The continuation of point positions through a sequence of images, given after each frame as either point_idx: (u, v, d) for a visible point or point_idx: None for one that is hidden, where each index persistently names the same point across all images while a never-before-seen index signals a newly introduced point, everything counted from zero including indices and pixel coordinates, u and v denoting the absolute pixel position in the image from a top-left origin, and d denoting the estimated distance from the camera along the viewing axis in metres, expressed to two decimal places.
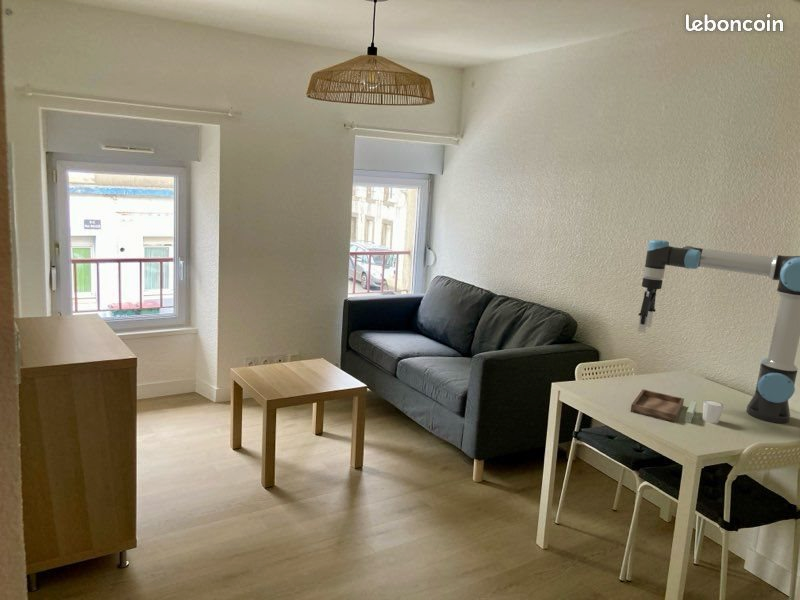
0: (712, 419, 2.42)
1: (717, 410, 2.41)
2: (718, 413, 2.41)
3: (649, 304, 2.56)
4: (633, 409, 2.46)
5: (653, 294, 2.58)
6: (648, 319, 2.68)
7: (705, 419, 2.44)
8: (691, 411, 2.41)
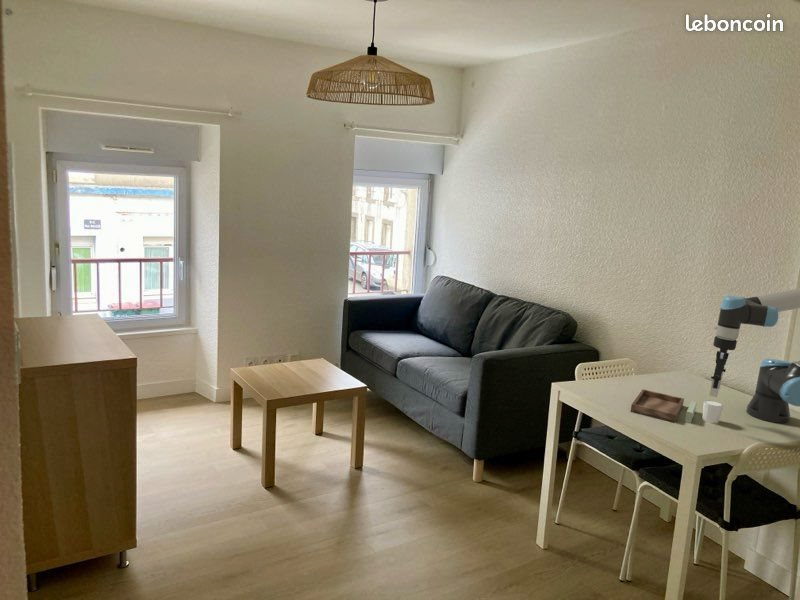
0: (712, 419, 2.42)
1: (717, 410, 2.41)
2: (718, 413, 2.41)
3: (722, 366, 2.36)
4: (633, 409, 2.46)
5: (726, 355, 2.38)
6: None
7: (705, 419, 2.44)
8: (691, 411, 2.41)
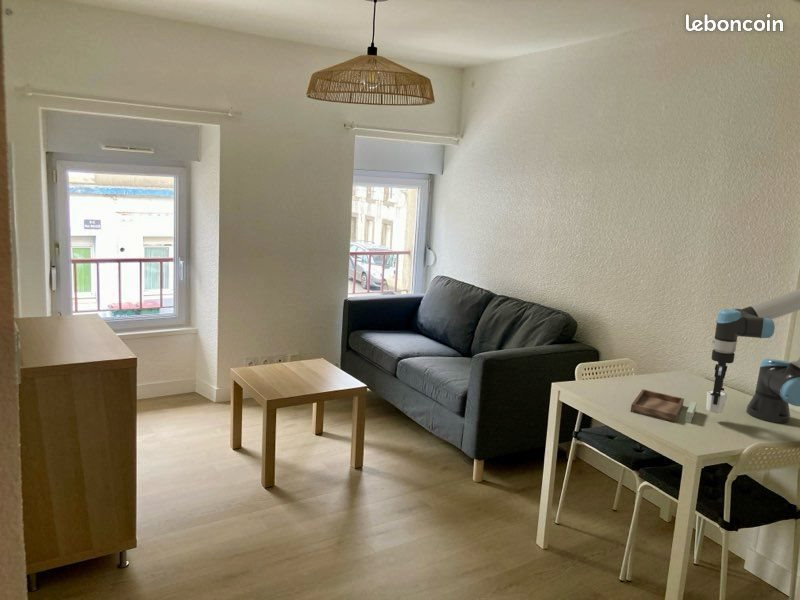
0: None
1: (721, 399, 2.40)
2: (722, 402, 2.41)
3: None
4: (633, 409, 2.46)
5: (725, 369, 2.39)
6: None
7: (709, 409, 2.43)
8: (691, 411, 2.41)
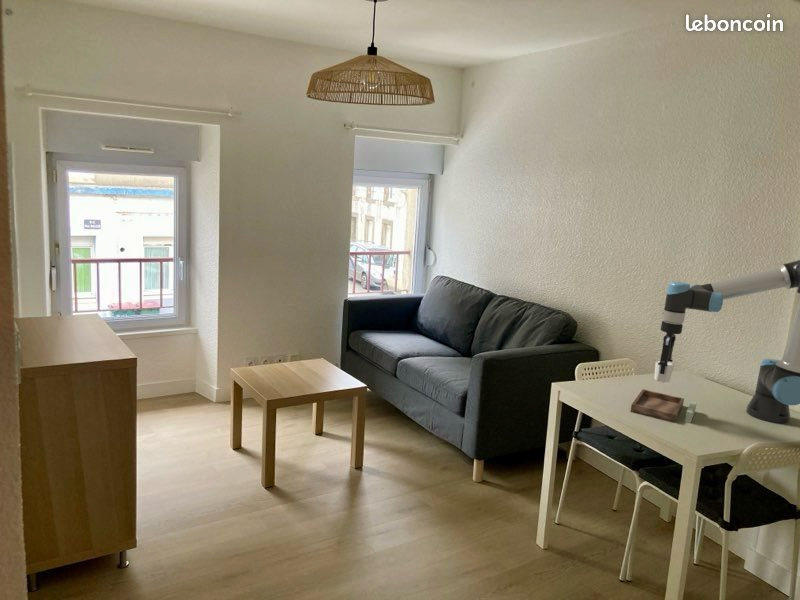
0: None
1: (668, 369, 2.47)
2: (669, 372, 2.47)
3: (669, 352, 2.45)
4: (633, 409, 2.46)
5: (673, 339, 2.46)
6: None
7: None
8: (691, 411, 2.41)
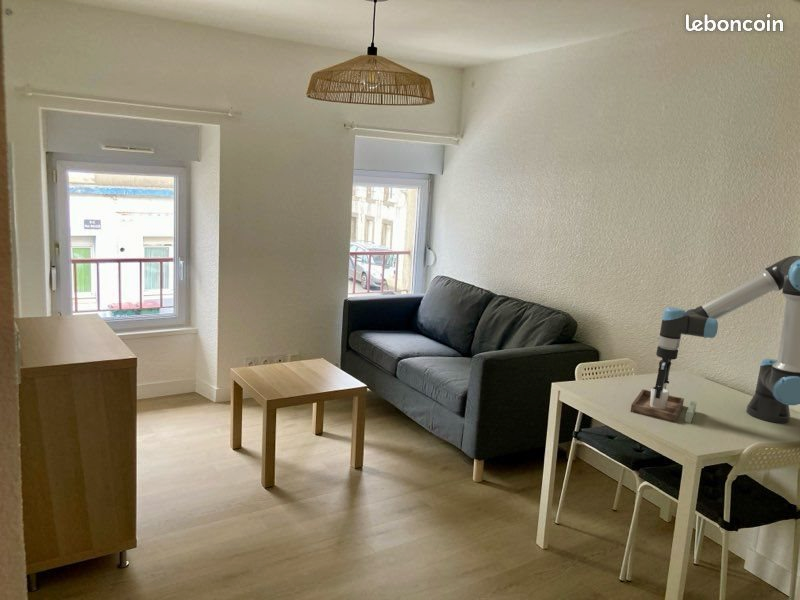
0: None
1: (663, 396, 2.49)
2: (664, 399, 2.49)
3: (664, 376, 2.46)
4: (633, 409, 2.46)
5: (668, 364, 2.47)
6: None
7: (652, 405, 2.52)
8: (691, 411, 2.41)
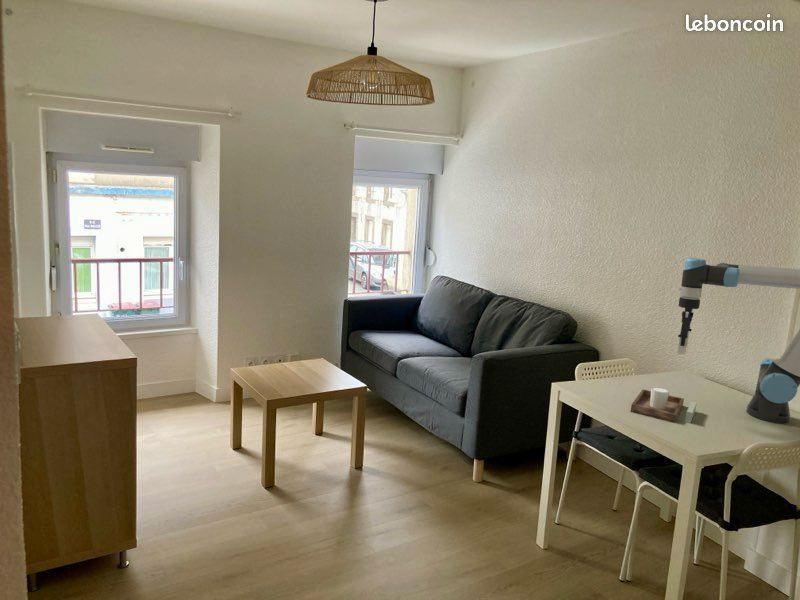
0: (659, 405, 2.50)
1: (663, 396, 2.49)
2: (664, 399, 2.49)
3: None
4: (633, 409, 2.46)
5: (691, 314, 2.51)
6: None
7: (652, 405, 2.52)
8: (691, 411, 2.41)
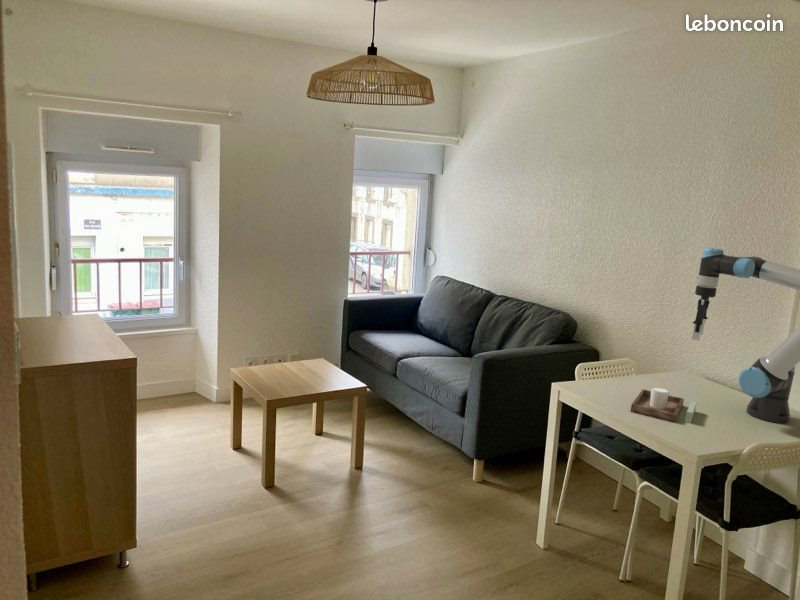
0: (659, 405, 2.50)
1: (663, 396, 2.49)
2: (664, 399, 2.49)
3: (703, 312, 2.57)
4: (633, 409, 2.46)
5: (707, 302, 2.59)
6: None
7: (652, 405, 2.52)
8: (691, 411, 2.41)
